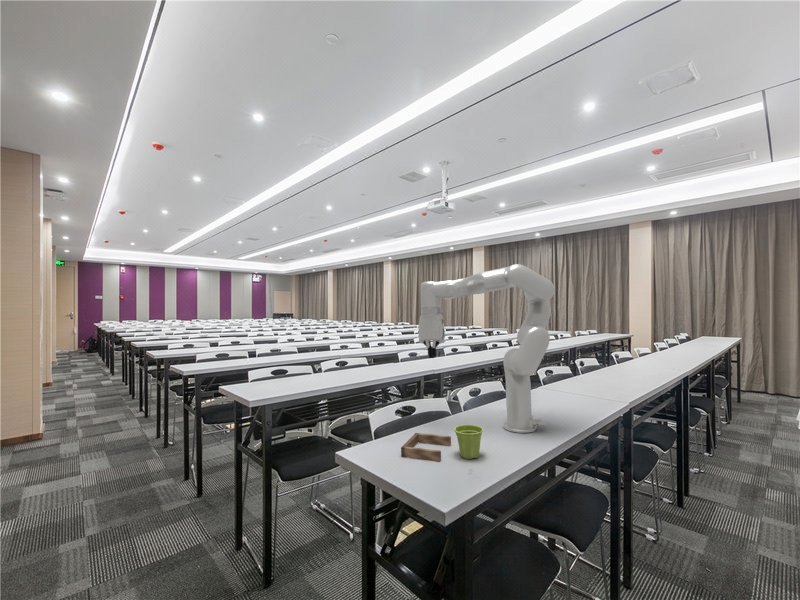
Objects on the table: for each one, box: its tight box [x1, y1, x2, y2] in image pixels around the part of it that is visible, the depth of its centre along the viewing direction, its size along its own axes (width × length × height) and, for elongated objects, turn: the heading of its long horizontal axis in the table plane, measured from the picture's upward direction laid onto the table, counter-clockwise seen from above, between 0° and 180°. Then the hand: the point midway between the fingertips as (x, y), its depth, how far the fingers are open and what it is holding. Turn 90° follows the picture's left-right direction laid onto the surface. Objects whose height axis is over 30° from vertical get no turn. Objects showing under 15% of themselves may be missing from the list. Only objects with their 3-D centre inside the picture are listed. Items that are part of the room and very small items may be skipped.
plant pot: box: [453, 424, 484, 460], centre depth 119 cm, size 9×9×9 cm
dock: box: [400, 432, 452, 463], centre depth 124 cm, size 13×15×3 cm
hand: (432, 357), depth 146 cm, fingers closed
